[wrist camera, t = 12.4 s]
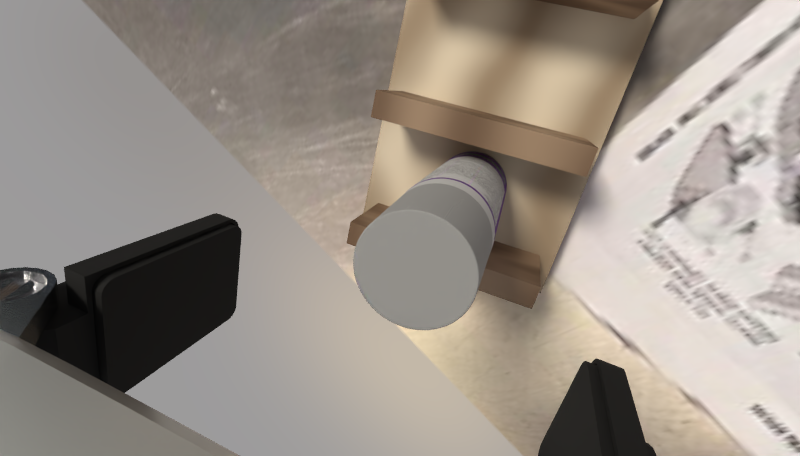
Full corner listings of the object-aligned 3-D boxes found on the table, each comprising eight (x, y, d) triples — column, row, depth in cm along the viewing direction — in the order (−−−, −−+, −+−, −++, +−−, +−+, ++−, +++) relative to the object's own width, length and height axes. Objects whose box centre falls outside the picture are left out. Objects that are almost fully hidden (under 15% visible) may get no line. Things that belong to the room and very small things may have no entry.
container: (466, 231, 28) (407, 355, 15) (424, 179, 28) (324, 257, 14) (521, 191, 26) (513, 291, 13) (477, 135, 26) (419, 176, 12)
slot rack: (668, -26, 22) (717, -70, 16) (540, 283, 29) (541, 331, 23) (428, -66, 25) (395, -117, 19) (367, 224, 32) (330, 253, 26)
